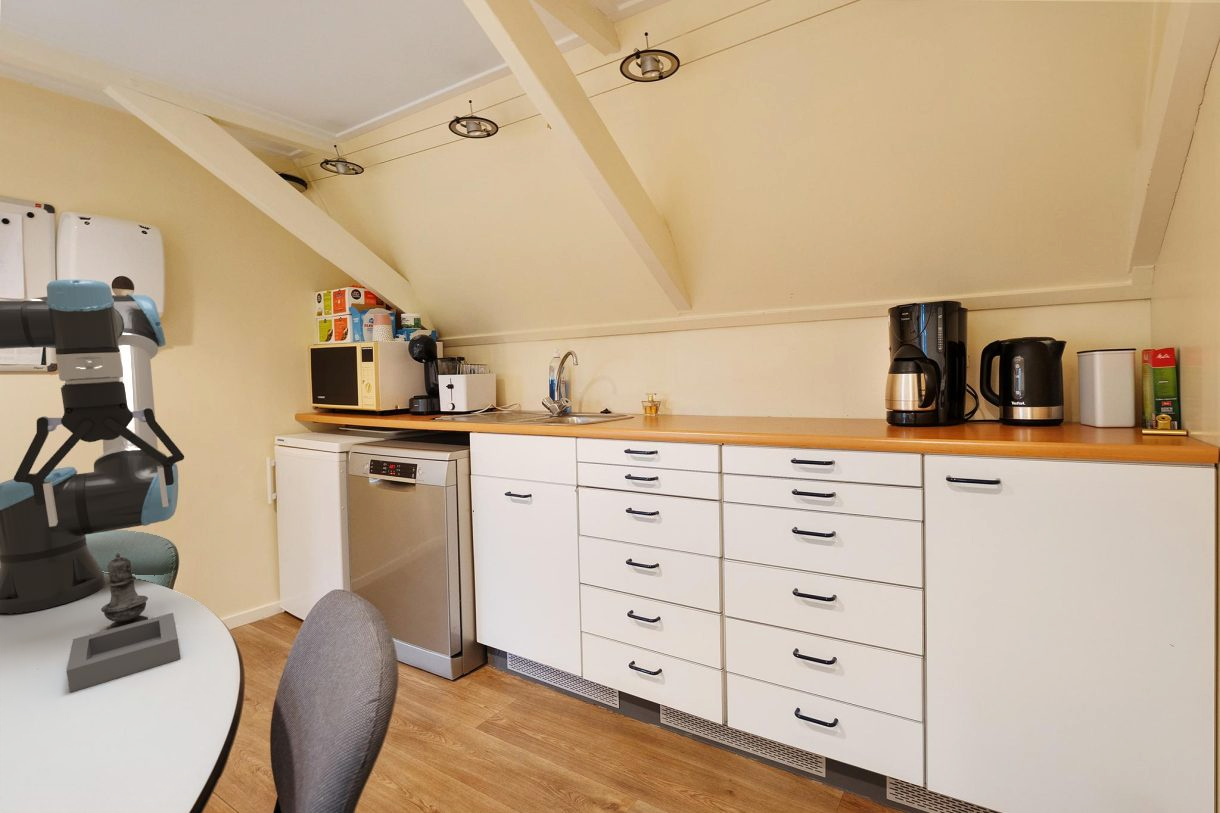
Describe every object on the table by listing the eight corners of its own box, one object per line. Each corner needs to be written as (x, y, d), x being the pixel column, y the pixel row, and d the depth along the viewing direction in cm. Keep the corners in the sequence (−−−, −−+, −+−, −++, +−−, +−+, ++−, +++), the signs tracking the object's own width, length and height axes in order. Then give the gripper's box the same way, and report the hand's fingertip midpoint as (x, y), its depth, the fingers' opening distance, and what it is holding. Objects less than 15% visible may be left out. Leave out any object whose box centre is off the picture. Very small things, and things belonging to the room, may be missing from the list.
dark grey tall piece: (124, 634, 92) (113, 559, 91) (94, 632, 93) (83, 559, 92) (159, 616, 98) (150, 546, 96) (131, 615, 99) (121, 546, 98)
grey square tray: (76, 658, 85) (73, 639, 84) (175, 631, 92) (173, 612, 92) (69, 692, 76) (66, 670, 75) (180, 658, 83) (177, 638, 83)
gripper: (-29, 389, 81) (-4, 539, 83) (192, 375, 96) (208, 502, 98) (-19, 388, 86) (4, 528, 88) (188, 375, 102) (204, 494, 104)
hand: (112, 514), depth 93 cm, fingers open, 13 cm apart
